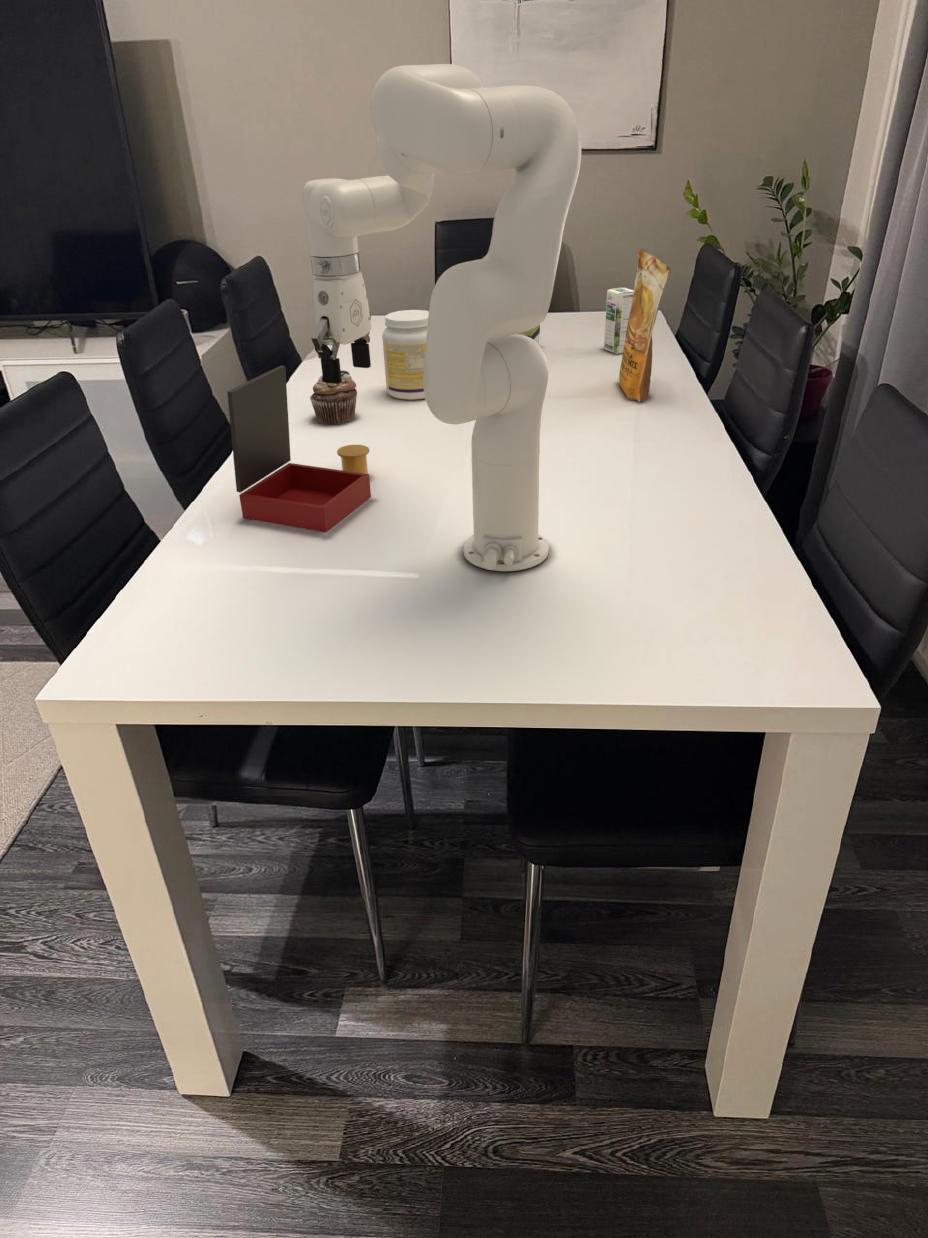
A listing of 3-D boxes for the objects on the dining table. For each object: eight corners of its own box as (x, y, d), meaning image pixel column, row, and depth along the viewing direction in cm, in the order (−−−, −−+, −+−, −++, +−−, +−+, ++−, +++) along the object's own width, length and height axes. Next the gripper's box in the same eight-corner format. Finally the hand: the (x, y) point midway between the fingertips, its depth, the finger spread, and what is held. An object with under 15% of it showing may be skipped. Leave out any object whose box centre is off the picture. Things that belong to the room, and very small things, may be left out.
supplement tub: (449, 396, 202) (446, 317, 193) (396, 404, 198) (390, 324, 189) (430, 381, 212) (426, 306, 203) (379, 389, 208) (373, 312, 199)
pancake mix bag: (643, 377, 210) (653, 246, 195) (661, 403, 193) (673, 263, 179) (614, 378, 209) (621, 247, 195) (629, 405, 193) (638, 264, 179)
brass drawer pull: (367, 485, 160) (364, 456, 157) (336, 484, 161) (333, 455, 158) (374, 473, 165) (372, 444, 162) (344, 472, 166) (341, 444, 163)
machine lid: (285, 365, 148) (281, 365, 148) (231, 392, 137) (227, 391, 137) (290, 460, 157) (286, 459, 157) (240, 492, 146) (236, 491, 146)
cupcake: (336, 407, 197) (331, 361, 192) (368, 416, 192) (364, 368, 187) (303, 420, 191) (297, 372, 186) (335, 429, 186) (330, 380, 181)
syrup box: (602, 349, 231) (605, 289, 223) (622, 345, 233) (626, 286, 226) (615, 354, 226) (618, 293, 219) (635, 351, 229) (639, 290, 221)
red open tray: (371, 500, 154) (369, 474, 152) (326, 536, 143) (323, 508, 141) (292, 488, 160) (289, 462, 158) (243, 522, 149) (238, 494, 146)
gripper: (328, 276, 136) (341, 391, 145) (382, 257, 150) (391, 362, 158) (285, 275, 139) (300, 387, 147) (342, 256, 152) (353, 360, 161)
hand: (347, 374), depth 153 cm, fingers open, 9 cm apart
